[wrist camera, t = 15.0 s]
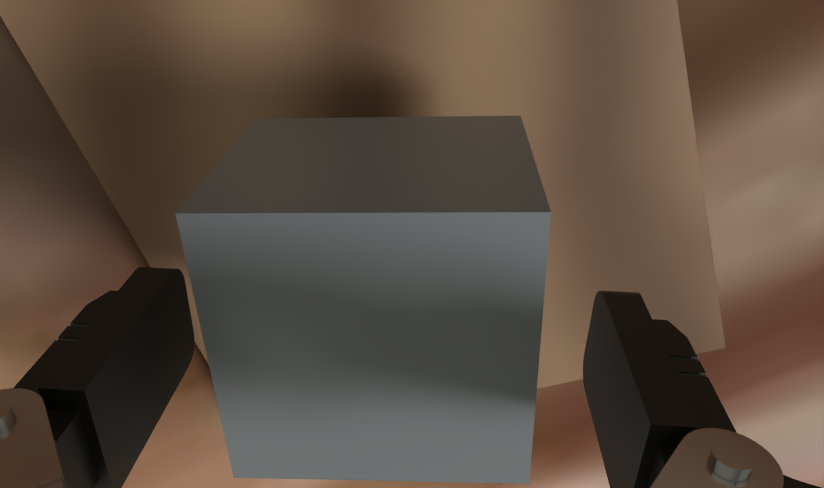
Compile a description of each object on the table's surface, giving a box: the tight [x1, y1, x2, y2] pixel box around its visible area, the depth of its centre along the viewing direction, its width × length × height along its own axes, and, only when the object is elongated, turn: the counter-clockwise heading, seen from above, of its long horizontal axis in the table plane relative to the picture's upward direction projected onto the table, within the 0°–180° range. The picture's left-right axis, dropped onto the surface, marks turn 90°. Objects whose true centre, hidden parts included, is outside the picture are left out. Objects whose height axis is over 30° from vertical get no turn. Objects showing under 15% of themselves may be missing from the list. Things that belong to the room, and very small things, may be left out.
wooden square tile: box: [0, 0, 725, 389], centre depth 16 cm, size 16×16×8 cm
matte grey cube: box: [175, 115, 551, 484], centre depth 14 cm, size 6×6×5 cm
